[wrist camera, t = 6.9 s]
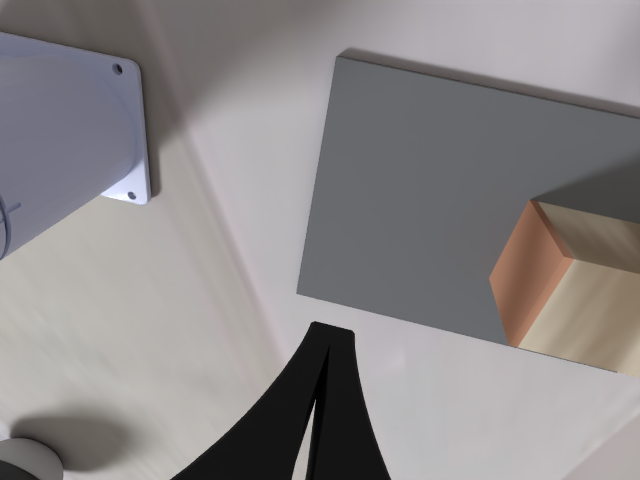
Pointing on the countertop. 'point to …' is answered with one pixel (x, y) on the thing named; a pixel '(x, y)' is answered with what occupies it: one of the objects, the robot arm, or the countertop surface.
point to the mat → (448, 190)
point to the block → (572, 287)
